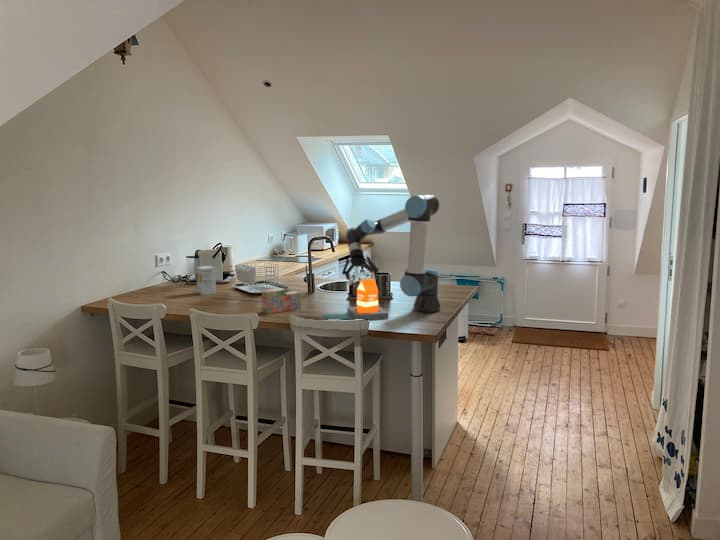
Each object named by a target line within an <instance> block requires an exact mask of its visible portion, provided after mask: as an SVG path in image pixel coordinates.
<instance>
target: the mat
mask: <svg viewBox="0 0 720 540" xmlns="http://www.w3.org/2000/svg"><path fill="white" fill-rule="evenodd" d="M323 317H324V318H325V320H327V319H350V320H351V318H350V316H348V315H347V314H346V313H345V312H344V313H332V314H331V313H330V314H323Z"/></svg>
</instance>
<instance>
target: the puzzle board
mask: <svg viewBox="0 0 720 540" xmlns="http://www.w3.org/2000/svg"><path fill="white" fill-rule="evenodd" d="M346 312H347V314H348V315H349V317H351V318H352V319H353V320H354V319H369V321H370V320H372V319H374V320H381V319H380V318H388V319H389V312H388V311H387V310H385V309H384V308H382V307H381V306H380V305H378V312H371V313H358V312H357V306H351V307H347V311H346Z"/></svg>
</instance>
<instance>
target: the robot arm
mask: <svg viewBox="0 0 720 540" xmlns="http://www.w3.org/2000/svg"><path fill="white" fill-rule="evenodd" d="M439 209H440V201H439V199H438V198H437V197H436V196H435V195H433V194H429V193H428V194H415V195H412V196H410V197H409V198H408V199H407V200H406V201H405V204H404V208H403V209H401V210H399V211H397V212H395V213H391V214H389V215H387V216H384V217H383V218H380V219H377V220H375V221H373V220H372V219H370V218H367V219H364V220H363V221H362V222H361V223H360V224H359V225H357V226H356V227H350V228H348V229H346V232H345V236H346V242H347V245H348V252H349V257H350V259H349V258H346V259H345V264H344V267H343V269H342V273H341V274H342V275H344V276H345V277H346V280H348V284H349V286H352V282H353V280H352V277H351V271H352V270H353V269H354V268H355V267H356V268H359V267H360V268H365V269H366V270H367V271H369V272H370V273H371V279H373V278H374V280H375V283H376V279H377V274H378V273H379V268H378V267H377V266H376V265H375V264H374V263H373V261H372V260H371V258H370V257H367V258H365V256H364V250H363V247H362V246H363V245H362V241H363V240H364V239H366V237H367V236H373V235H374V236H375V235H381V234H385V232H387V231H389V230H391V229H394V228H396V227H399V226H402V225H405V224H406V223H410V226H409V227H410V230H409V231H410V232H409V245H408V257H407V258H408V260H407V267H406V268H405V269H404V276H402V278H400V280H399V281H400V282H399V287H400V290H401V291H402V292H403V294H404V295H406V296H408V297H415V299H414V300H415V301H414V303H413V311H415V310H416V312H419V311H422V312H421V313H436V312H435V311H437V312H440V311H441V310H442V309H441V308H442V307H441V303H440V300H439V297H438V295H439V292H438V291H439V271H438V270H437V269H433V268H432V269H431V268H425V257H426V243H427V242H426V240H427V227H428V224H429V223H430V222H431V217H432V216H434V215H435V214H436V213H438V211H439ZM350 263H351V265H350V266H349V264H350ZM348 266H349V268H348ZM347 268H348V269H347ZM376 284H377V283H376ZM440 309H441V310H440ZM439 310H440V311H439Z"/></svg>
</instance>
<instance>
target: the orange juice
mask: <svg viewBox="0 0 720 540" xmlns="http://www.w3.org/2000/svg"><path fill="white" fill-rule="evenodd" d="M375 280H376V279H375ZM375 280H374V278H373V279H372V278H368V279H361V280H360V282H359V284H358V286H357V288H356V307H357V312H358V313H371V312H378V306H379V289H378V285H377V283H375Z"/></svg>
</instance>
